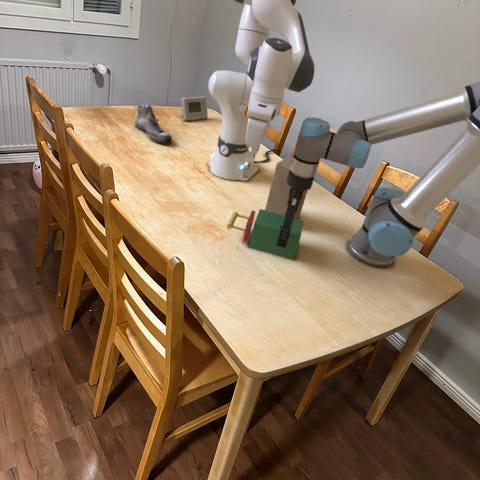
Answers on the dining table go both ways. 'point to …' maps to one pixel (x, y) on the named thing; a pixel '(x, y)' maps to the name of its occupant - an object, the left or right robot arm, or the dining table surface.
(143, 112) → the shoe
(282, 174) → the wooden block
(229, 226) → the drawer
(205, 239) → the dining table surface
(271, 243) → the cabinet
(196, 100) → the digital clock
